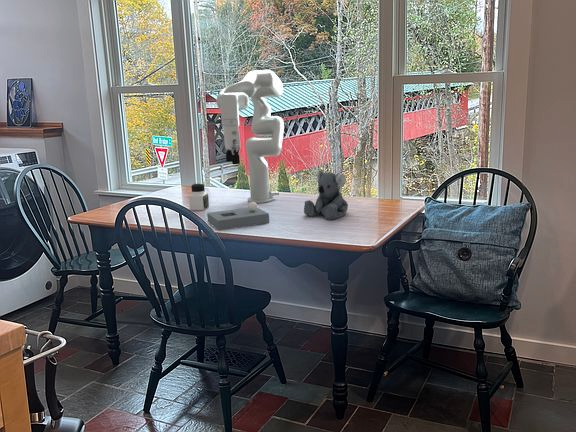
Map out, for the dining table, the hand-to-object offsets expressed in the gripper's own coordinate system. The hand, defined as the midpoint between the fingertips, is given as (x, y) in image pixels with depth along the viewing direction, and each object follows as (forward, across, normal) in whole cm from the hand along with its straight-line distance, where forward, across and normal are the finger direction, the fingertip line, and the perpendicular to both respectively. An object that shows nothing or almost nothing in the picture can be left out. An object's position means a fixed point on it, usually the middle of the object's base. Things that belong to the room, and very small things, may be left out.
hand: (233, 162), depth 249 cm
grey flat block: (+24, -11, +2) cm, 27 cm away
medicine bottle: (+24, +24, +11) cm, 36 cm away
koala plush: (+24, -18, -37) cm, 48 cm away
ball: (+18, -11, -4) cm, 22 cm away
